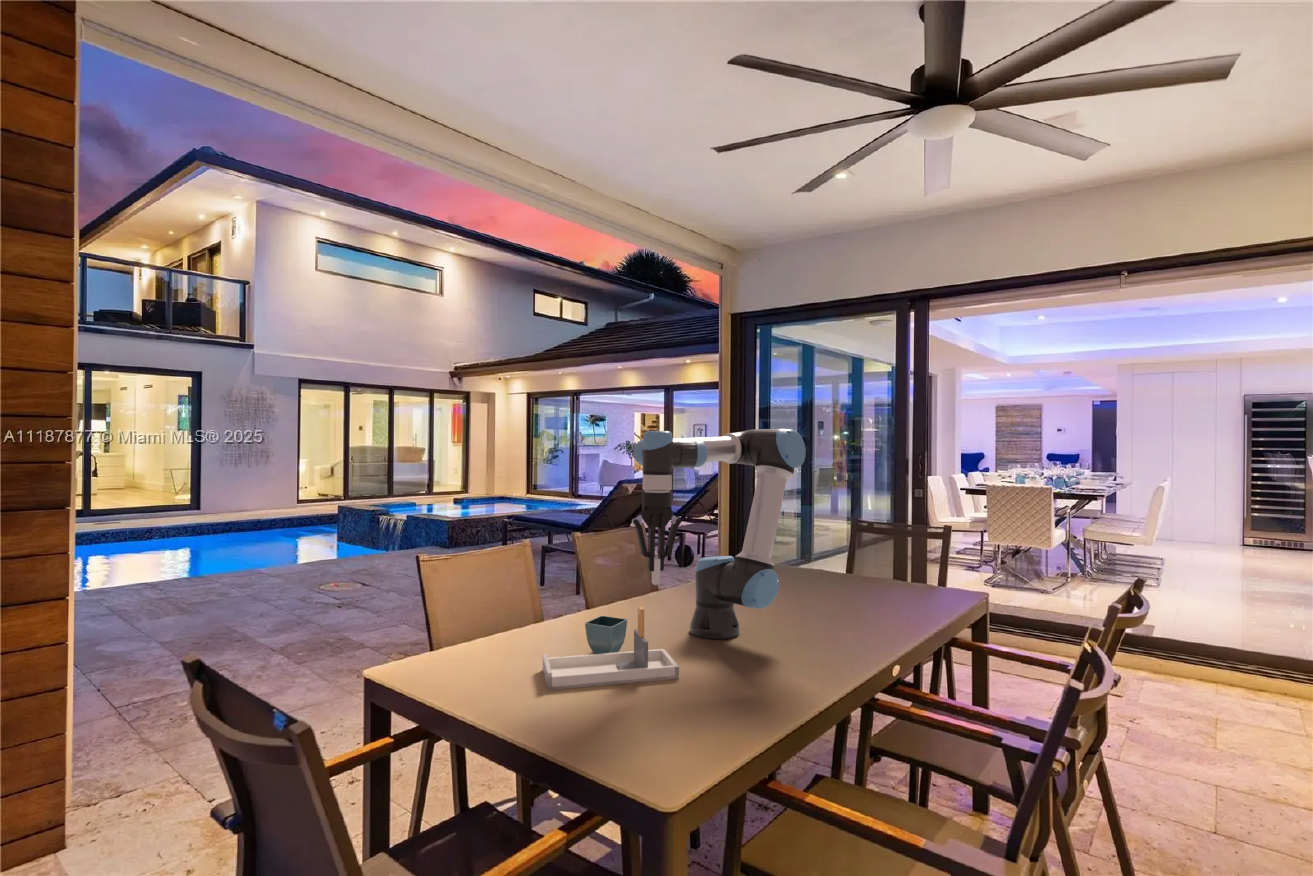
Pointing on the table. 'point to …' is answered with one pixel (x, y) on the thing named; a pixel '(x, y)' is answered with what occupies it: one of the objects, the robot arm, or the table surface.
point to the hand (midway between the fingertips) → (655, 583)
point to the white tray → (605, 669)
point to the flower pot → (606, 634)
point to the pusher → (638, 646)
